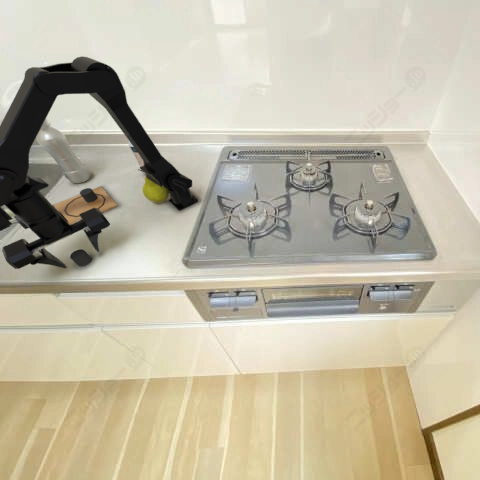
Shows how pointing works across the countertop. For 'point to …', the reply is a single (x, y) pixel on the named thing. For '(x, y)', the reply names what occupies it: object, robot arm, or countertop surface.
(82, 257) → the eye dot left
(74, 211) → the board
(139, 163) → the beer can
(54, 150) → the plastic bottle
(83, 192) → the eye dot right
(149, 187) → the fruit
